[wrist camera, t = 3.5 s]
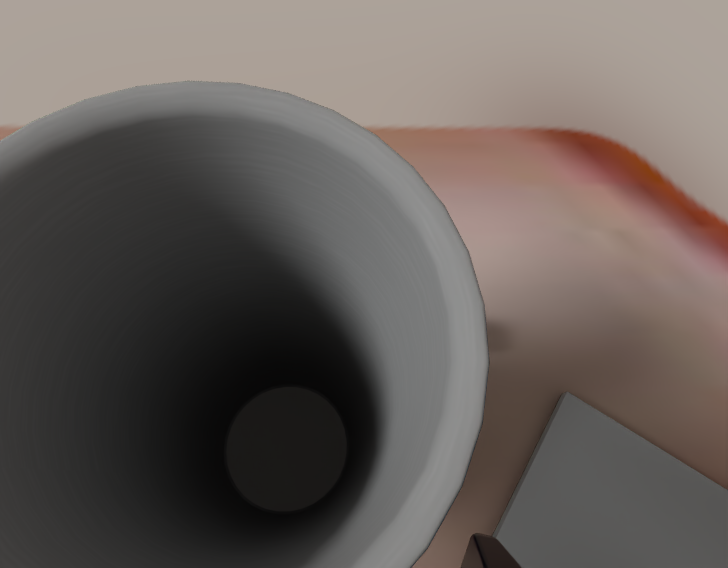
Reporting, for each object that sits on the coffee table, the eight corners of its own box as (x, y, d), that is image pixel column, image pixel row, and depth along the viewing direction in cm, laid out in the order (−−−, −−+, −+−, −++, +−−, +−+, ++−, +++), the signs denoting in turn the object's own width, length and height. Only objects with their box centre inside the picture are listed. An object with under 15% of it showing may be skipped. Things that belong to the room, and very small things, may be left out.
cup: (329, 330, 21) (323, 18, 7) (411, 488, 19) (618, 465, 5) (168, 407, 20) (-219, 197, 6) (238, 589, 18) (-108, 924, 4)
